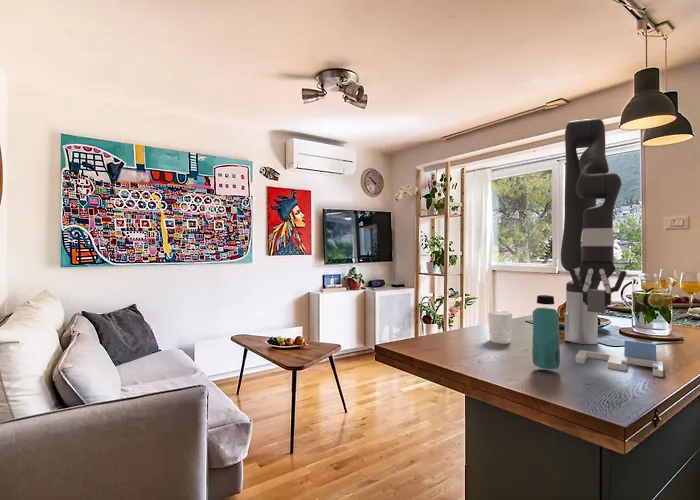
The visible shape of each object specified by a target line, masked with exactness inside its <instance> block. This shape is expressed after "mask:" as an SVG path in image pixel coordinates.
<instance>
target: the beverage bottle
mask: <svg viewBox="0 0 700 500" xmlns="http://www.w3.org/2000/svg"><path fill="white" fill-rule="evenodd" d="M536 304H538V305H548V306H549V305H551V306H552V305H555V297H554V296H553V295H547V294H540V295H537V297H536ZM531 338H532V341H531V343H532V347H531V348H532V352H531V353H532V354H531V355H532V364H533V365H534V366H535V367H538V368H540V369H545V370H557V369H559V368H560V365H561V360H560V358H561V355H560V353H561V349H560V346H561V343H560V313H559V312H558V310H556V309H555V308H553V307H546V306H544V307H543V306H542V307H540V306H539V307H536V308H535V309H534V310H533V311H532V337H531Z"/></svg>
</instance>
